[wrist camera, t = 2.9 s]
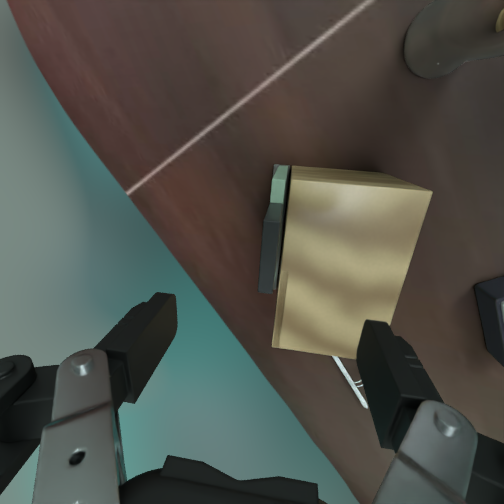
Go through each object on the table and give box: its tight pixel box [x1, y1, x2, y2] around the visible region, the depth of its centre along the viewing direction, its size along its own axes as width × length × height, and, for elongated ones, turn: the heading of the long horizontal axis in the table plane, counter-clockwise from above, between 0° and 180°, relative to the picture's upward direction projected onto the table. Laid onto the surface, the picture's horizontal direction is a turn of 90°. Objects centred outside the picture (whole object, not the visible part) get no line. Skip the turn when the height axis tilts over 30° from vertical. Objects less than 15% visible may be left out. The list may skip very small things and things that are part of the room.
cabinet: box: [272, 164, 433, 359], centre depth 28 cm, size 16×12×12 cm
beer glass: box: [404, 0, 504, 79], centre depth 18 cm, size 7×7×15 cm
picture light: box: [332, 356, 368, 408], centre depth 40 cm, size 14×4×2 cm, turn 32°
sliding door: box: [258, 166, 288, 294], centre depth 24 cm, size 8×1×16 cm, turn 177°
